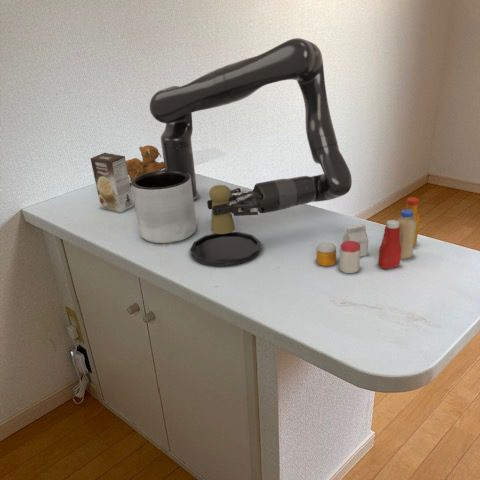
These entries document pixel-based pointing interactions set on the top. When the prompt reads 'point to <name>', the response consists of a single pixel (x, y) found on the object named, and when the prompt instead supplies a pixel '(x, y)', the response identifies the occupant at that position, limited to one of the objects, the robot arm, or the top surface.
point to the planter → (164, 206)
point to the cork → (222, 221)
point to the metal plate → (225, 249)
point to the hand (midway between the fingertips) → (210, 208)
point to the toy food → (392, 247)
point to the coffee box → (112, 182)
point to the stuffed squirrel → (144, 162)
